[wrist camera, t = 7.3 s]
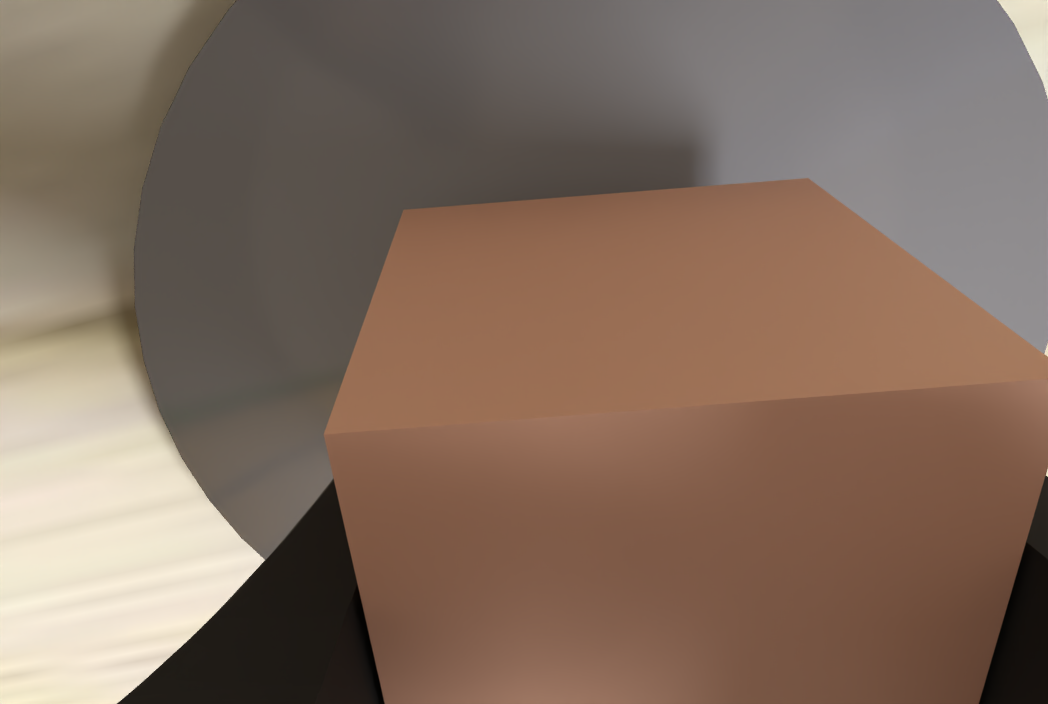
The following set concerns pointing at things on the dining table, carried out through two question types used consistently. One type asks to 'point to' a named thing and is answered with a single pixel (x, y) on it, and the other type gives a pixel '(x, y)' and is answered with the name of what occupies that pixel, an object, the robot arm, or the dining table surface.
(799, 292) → the terracotta block
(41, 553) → the dining table surface
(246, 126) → the charcoal plate
